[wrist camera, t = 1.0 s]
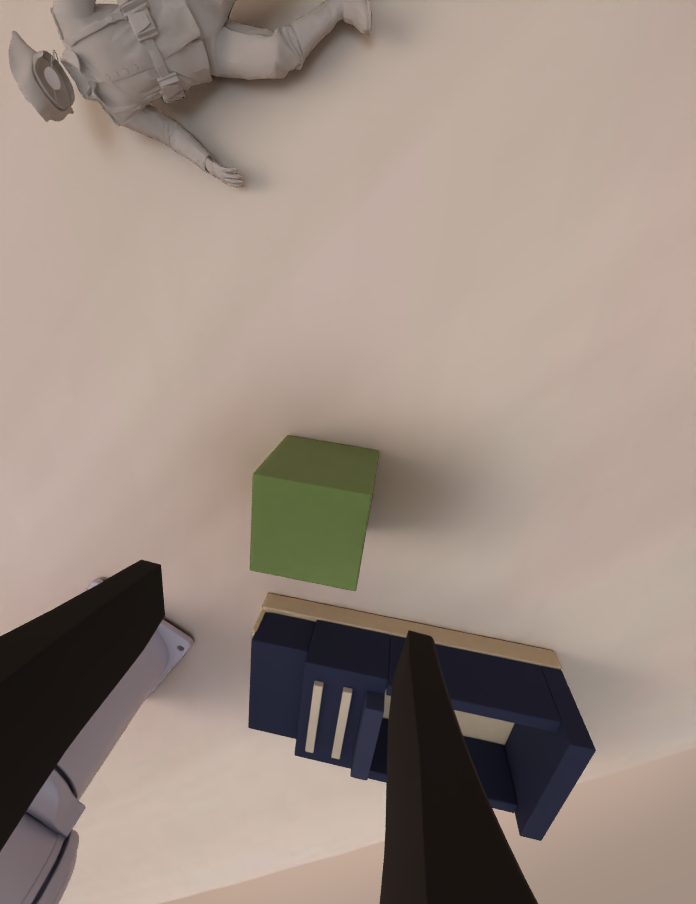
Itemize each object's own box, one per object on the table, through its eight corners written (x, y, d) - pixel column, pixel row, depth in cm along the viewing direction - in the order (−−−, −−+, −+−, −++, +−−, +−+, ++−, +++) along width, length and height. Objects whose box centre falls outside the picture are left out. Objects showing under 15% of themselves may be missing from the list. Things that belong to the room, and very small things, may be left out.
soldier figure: (385, 133, 16) (117, 252, 15) (339, 92, 18) (105, 194, 17) (358, -264, 9) (-135, -68, 8) (289, -250, 11) (-101, -95, 10)
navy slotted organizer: (554, 650, 23) (597, 749, 18) (514, 737, 26) (540, 842, 21) (268, 592, 24) (232, 668, 19) (263, 681, 27) (231, 767, 22)
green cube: (366, 530, 22) (355, 591, 17) (281, 514, 22) (249, 570, 17) (379, 450, 20) (372, 494, 15) (286, 434, 20) (252, 473, 15)
